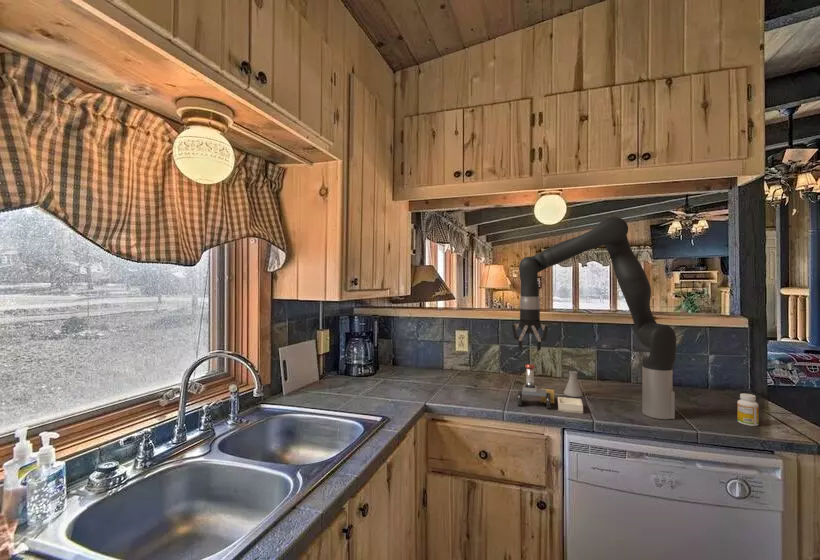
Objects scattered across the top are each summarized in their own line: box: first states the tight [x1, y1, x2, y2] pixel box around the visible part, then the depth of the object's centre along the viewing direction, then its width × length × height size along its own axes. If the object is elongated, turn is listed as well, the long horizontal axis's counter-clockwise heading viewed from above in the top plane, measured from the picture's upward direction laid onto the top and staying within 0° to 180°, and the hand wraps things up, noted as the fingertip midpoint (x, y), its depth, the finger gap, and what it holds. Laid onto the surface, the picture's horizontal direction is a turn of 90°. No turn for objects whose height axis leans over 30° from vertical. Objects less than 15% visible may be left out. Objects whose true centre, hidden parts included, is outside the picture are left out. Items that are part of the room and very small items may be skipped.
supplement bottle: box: [736, 393, 760, 427], centre depth 130 cm, size 5×5×10 cm
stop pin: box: [524, 363, 536, 388], centre depth 149 cm, size 4×4×10 cm
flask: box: [563, 370, 584, 398], centre depth 162 cm, size 7×7×10 cm
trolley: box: [517, 383, 552, 410], centre depth 149 cm, size 12×8×7 cm, turn 71°
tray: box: [557, 396, 584, 414], centre depth 144 cm, size 8×8×3 cm
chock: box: [540, 388, 555, 405], centre depth 154 cm, size 5×4×4 cm
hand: (529, 350), depth 149 cm, fingers open, 5 cm apart
